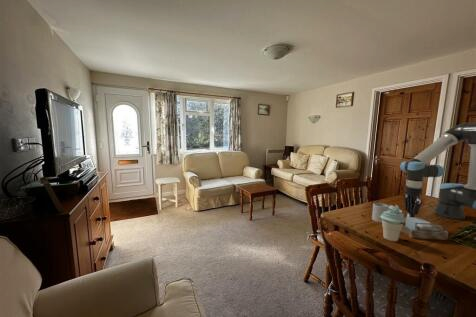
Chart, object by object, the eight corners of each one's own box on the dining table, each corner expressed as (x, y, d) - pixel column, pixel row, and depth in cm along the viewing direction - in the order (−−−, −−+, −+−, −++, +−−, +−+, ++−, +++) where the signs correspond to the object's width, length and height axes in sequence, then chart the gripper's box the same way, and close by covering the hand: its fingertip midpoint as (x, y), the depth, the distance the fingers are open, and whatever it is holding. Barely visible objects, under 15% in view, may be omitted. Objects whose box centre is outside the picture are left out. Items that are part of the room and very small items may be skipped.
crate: (419, 228, 123) (420, 217, 122) (430, 235, 115) (431, 223, 114) (404, 227, 124) (405, 216, 123) (414, 234, 116) (415, 222, 115)
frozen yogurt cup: (381, 231, 119) (384, 199, 116) (405, 239, 110) (409, 204, 108) (375, 237, 113) (378, 203, 110) (400, 246, 104) (404, 209, 102)
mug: (384, 224, 129) (385, 207, 127) (369, 219, 136) (370, 204, 134) (391, 219, 136) (392, 204, 134) (377, 215, 143) (378, 200, 141)
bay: (416, 221, 132) (418, 210, 131) (448, 240, 109) (450, 227, 108) (387, 220, 134) (388, 209, 133) (412, 238, 111) (413, 225, 110)
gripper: (400, 184, 129) (396, 218, 132) (414, 189, 117) (410, 227, 120) (413, 184, 128) (409, 219, 131) (429, 190, 116) (424, 228, 119)
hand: (409, 223), depth 125 cm, fingers closed
